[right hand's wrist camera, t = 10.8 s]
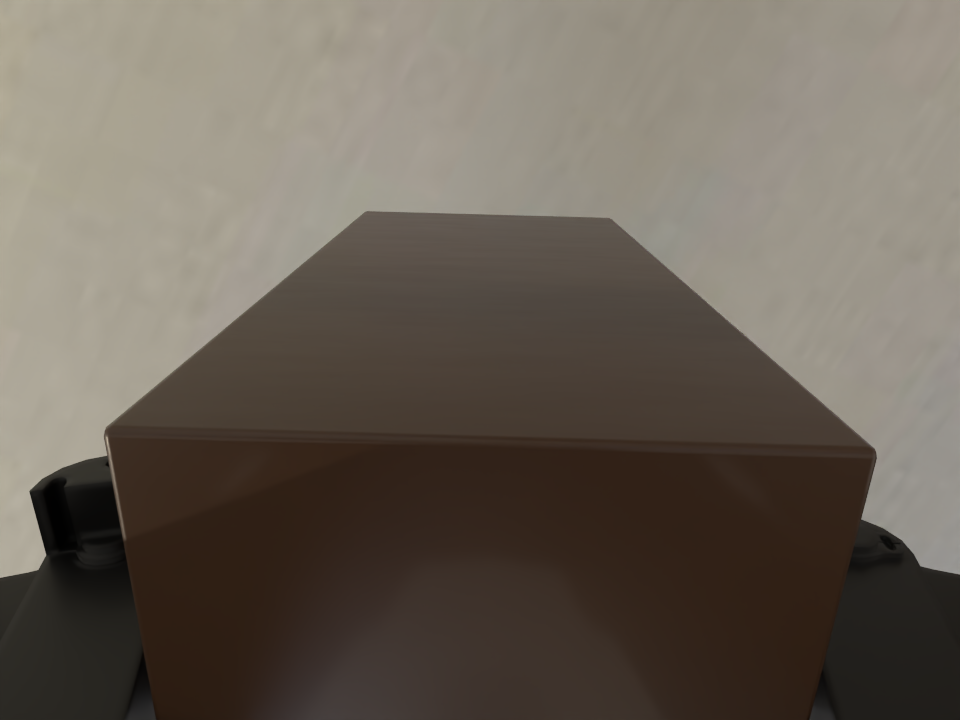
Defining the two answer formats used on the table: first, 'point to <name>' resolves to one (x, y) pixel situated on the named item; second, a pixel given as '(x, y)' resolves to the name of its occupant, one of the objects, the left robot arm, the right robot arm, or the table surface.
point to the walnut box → (485, 492)
